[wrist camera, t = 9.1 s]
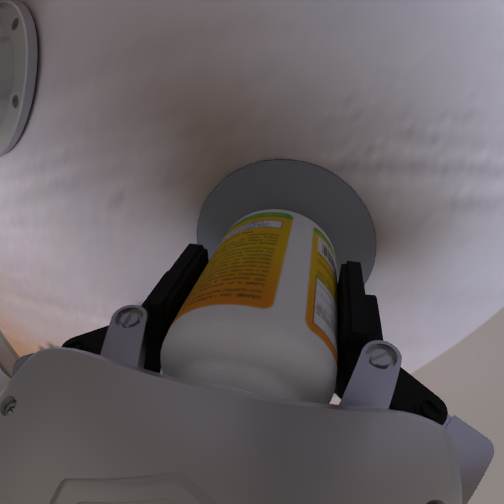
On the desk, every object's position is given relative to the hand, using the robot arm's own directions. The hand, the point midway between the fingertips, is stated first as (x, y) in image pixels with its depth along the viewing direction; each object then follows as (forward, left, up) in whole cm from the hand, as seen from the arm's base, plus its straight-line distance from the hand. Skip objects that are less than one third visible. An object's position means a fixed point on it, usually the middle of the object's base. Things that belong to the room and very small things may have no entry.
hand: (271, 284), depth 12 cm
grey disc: (0, 0, -3) cm, 3 cm away
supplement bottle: (0, 0, -2) cm, 2 cm away
